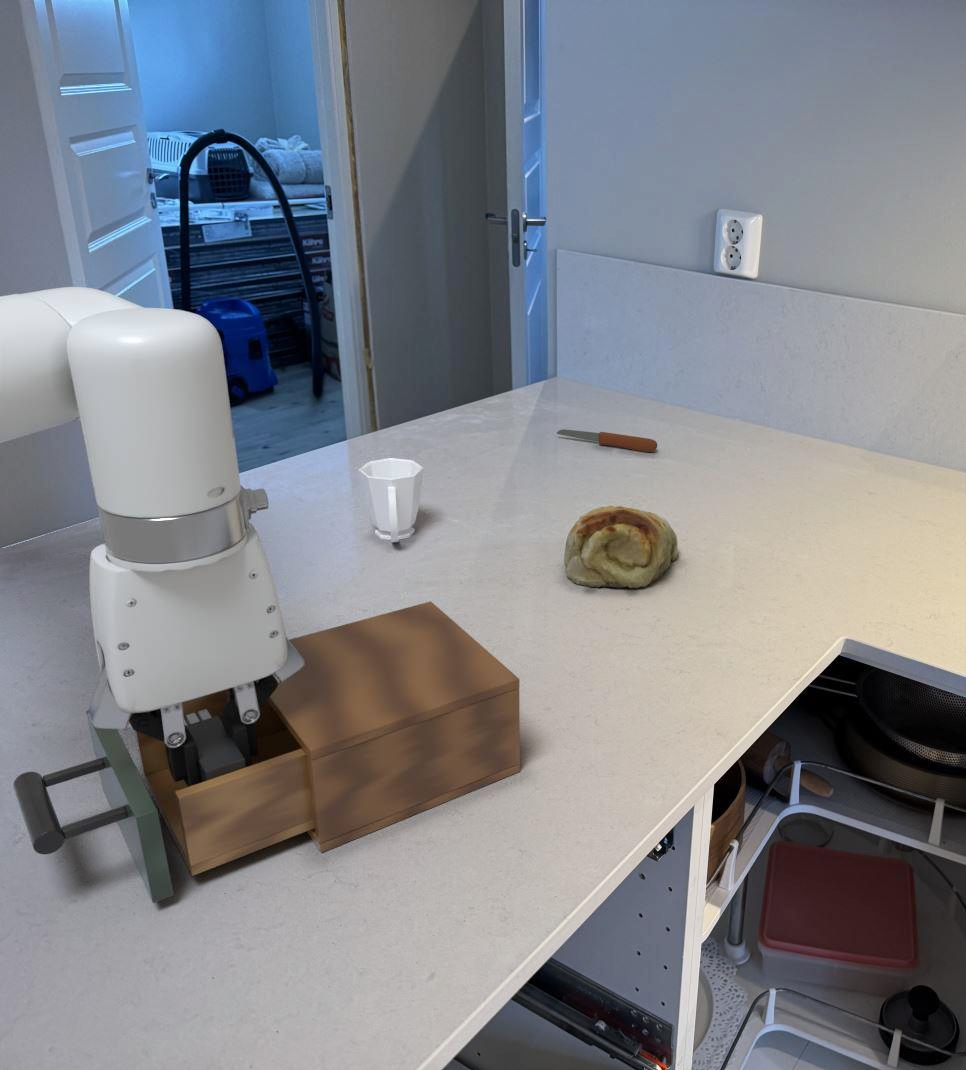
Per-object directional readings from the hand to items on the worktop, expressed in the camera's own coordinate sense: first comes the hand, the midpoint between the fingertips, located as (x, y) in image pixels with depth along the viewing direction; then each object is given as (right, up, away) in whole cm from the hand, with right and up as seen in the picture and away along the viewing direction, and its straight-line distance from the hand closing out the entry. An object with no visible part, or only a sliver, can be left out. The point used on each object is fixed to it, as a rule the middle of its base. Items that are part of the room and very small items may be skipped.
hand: (216, 772), depth 66 cm
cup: (-4, +15, +48) cm, 51 cm away
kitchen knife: (+17, +29, +83) cm, 90 cm away
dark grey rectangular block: (-1, 0, +2) cm, 2 cm away
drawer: (-3, -4, +3) cm, 5 cm away
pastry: (+23, +12, +46) cm, 53 cm away
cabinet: (+7, -2, +12) cm, 14 cm away
